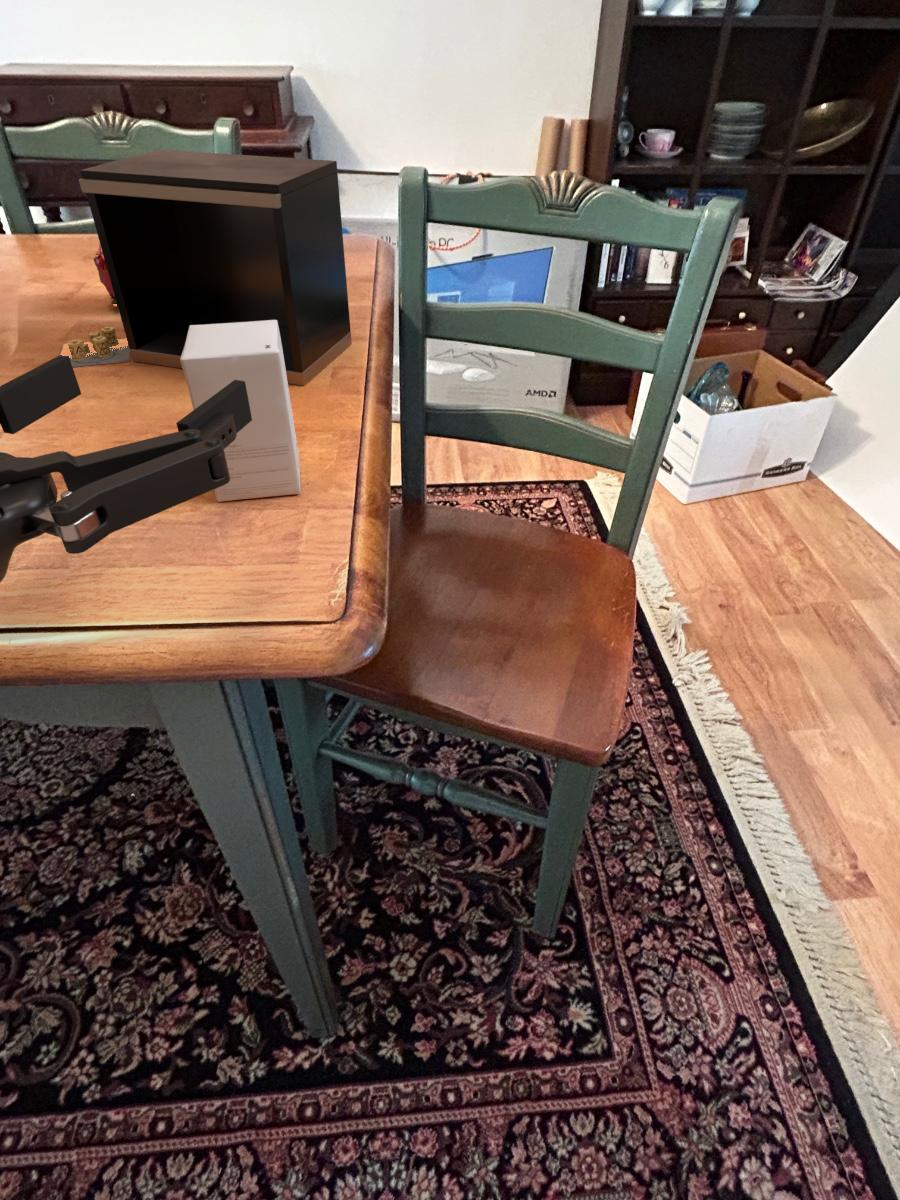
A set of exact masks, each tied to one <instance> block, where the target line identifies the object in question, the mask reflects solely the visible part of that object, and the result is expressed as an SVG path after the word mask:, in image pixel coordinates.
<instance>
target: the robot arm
mask: <svg viewBox="0 0 900 1200" xmlns="http://www.w3.org/2000/svg"><path fill="white" fill-rule="evenodd" d="M80 395H82V391H81V388H80V385H79V382H78V379H77V376H76V373H75V370H74V367H72V364H71V361H70V358H69V356H62V355H60V354H59V355H58V356H56V357H54V358H52V359H50V360H48V361H46V362H44V363H42V364H40V365H39V366H36V367H34V368H32V369H31V370H28V371H27V372H25V373H22V374H21V375H19V376H17V377H15V378H13V379H11V380H9V381H7V382H5V383H4V384H2V385H0V426H1V429H2V432H3V433H4V434H10V435H15V434H16V433H18V432H20V431H21V430H23V429H25V428H27V427H29V426H30V425H32V424H33V423H35V422H37V421H38V420H40V419H42V418H43V417H45V416H47V415H49V414H50V413H52V412H54V411H55V410H57V409H59V408H60V407H62V406H64V405H66V404H67V403H69V402H71V401H72V400H73V399H76V398H77V397H79V396H80ZM251 421H252V417H251V411H250V406H249V400H248V395H247V389H246V384H245V381H240V380H234V381H232V382H231V383H230V384H228V385H227V386H226V387H224V388H223V389H222V390H220V391H219V392H218V393H216V394H215V395H213V396H212V397H211V398H209V399H208V400H207V401H205V402H204V403H203V404H201V405H200V406H199V407H197V408H196V409H195V410H193V409H192V411H190V412H189V413H188V414H187V415H185V416H184V417H182V418H181V419H180V420H178V421H177V422H175V423H176V427H177V431H175V432H171V433H167V434H163V435H159V436H154V437H151V438H147V439H141V440H138V441H133V442H130V443H126V444H121V445H117V446H114V447H109V448H104V449H101V450H97V451H94V452H88V453H85V454H80V455H75V456H74V455H73V454H71V453H70V452H69V453H68V452H67V451H63V450H60V451H54V452H51V453H47V454H46V453H45V454H42V455H38V456H34V457H29V456H27V457H22V456H20V457H19V456H15V455H12V454H10V453H7V452H3V451H0V583H2V582H3V580H4V579H5V577H6V575H7V572H8V570H9V566H10V562H11V559H12V556H13V553H14V551H15V549H16V548H17V547H18V546H20V545H21V544H24V543H25V542H28V541H30V540H32V539H33V540H34V539H35V538H38V537H41V536H43V535H44V534H48V535H51V536H54V537H57V538H60V539H61V542H62V544H63V547H64V549H65V551H66V553H68V554H70V555H71V554H72V555H76V554H81V553H85V552H86V551H88V550H90V549H91V548H92V547H94V546H95V545H96V544H98V543H99V542H101V541H102V540H103V539H105V538H107V537H108V536H109V535H111V534H112V533H115V532H117V531H120V530H122V529H124V528H127V527H129V526H131V525H133V524H136V523H138V522H141V521H143V520H145V519H147V518H148V519H149V518H150V517H152V516H155V515H157V514H160V513H161V512H164V511H167V510H169V509H171V508H174V507H176V506H179V505H180V504H183V503H185V502H188V501H190V500H193V499H195V498H197V497H199V496H202V495H205V494H207V493H209V492H211V491H214V489H216V488H218V487H221V486H223V485H225V484H227V483H229V481H230V475H229V471H228V466H227V461H226V457H225V452H224V449H225V448H226V447H227V446H228V445H230V443H232V442H233V441H234V440H235V439H236V436H237V433H238V432H239V431H240V430H241V429H242V428H244V427H245V426H246V425H247V424H248V423H250V422H251ZM53 473H59V474H61V477H62V479H63V481H64V484H65V487H66V490H65V491H63V492H61V493H60V495H59V492H58V488H57V485H56V483H55V480H54V477H53V475H52V474H53ZM58 495H59V496H60V499H59V500H58Z"/></svg>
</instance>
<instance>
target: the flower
mask: <svg viewBox="0 0 900 1200" xmlns="http://www.w3.org/2000/svg"><path fill="white" fill-rule="evenodd" d="M92 259H93V262H94V265H95V267H96V270H97V271H98V277H99V282H100V283H101V284H102V285H103V286H104V287H105V289H106V292H108V295H109V298H110V299H111V305H112V304H117V302H116V298H115V295H114V291H113V288H112V284H111V281H110V277H109V273H108V270H107V266H106V263H105V259H104V256H103V252H102V248H101V245H100V242H99V243H98V250H97V251H96V252H95V256H94V257H93V258H92Z"/></svg>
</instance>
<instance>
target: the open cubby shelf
mask: <svg viewBox="0 0 900 1200" xmlns="http://www.w3.org/2000/svg"><path fill="white" fill-rule="evenodd" d="M79 173H80V177H81V178H79V179H78V182H79V186H80V189H81V192H82V193H84V194H86V198H87V201H88V205H89V206H88V207H89V209H90V212H91V217H92V219H93V223H94V227H95V231H96V233H97V239H98V241H99V243H100V245H101V248H102V252H103V256H104V259H105V263H106V266H107V270H108V273H109V277H110V281H111V284H112V288H113V291H114V295H115V298H116V302H117V306H118V307H117V309H118V313H119V316H120V319H121V323H122V326H123V330H124V334H125V338H127V341H128V345H129V348H130V356H131V359H132V362H135V363H141V364H148V365H156V366H162V367H169V368H175V369H176V368H177V369H182V370H183V368H182V365H181V362H180V358H181V355H182V352H183V349H184V346H185V342H186V339H187V335H188V330H189V326H190V325H206V324H221V323H237V322H252V321H266V320H277V322H278V326H279V332H280V338H281V344H282V349H283V356H284V362H285V368H286V375H287V381H288V385H293V386H302V387H305V386H306V385H307V384H308V383H309V382H310V381H311V380H313V379H314V378H315V377H316V376H317V375H319V373H321V372H322V371H323V370H324V369H326V367H327V366H329V365H330V364H331V363H332V362H333V361H334V360H336V359H337V358H338V357H339V356H340V355H341V354H343V352H345V351H346V350H347V349H348V348H349V347H350V346H352V344H353V343H352V341H353V340H352V332H351V322H350V320H351V318H350V308H349V305H350V304H349V296H348V282H347V271H346V270H347V269H346V260H345V247H344V245H345V244H344V236H343V235H344V234H343V223H342V221H343V220H342V211H341V199H340V197H341V196H340V187H339V186H340V185H339V176H338V175H339V174H338V163H337V160H328V159H313V158H312V159H311V158H295V157H282V156H281V157H279V156H264V155H250V154H249V155H248V154H234V153H233V154H232V153H217V152H203V151H187V150H173V149H172V150H171V149H155V150H151V151H147V152H143V153H140V154H136V155H132V156H128V157H124V158H120V159H116V160H113V161H109V162H105V163H102V164H98V165H96V166H95V165H94V166H91V167H87V168H83V169H80V170H79Z"/></svg>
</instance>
